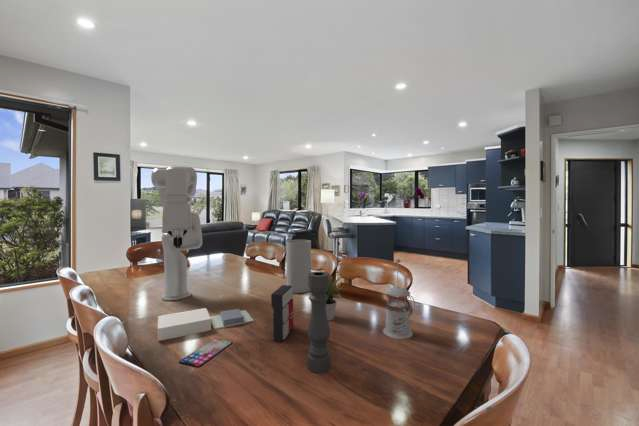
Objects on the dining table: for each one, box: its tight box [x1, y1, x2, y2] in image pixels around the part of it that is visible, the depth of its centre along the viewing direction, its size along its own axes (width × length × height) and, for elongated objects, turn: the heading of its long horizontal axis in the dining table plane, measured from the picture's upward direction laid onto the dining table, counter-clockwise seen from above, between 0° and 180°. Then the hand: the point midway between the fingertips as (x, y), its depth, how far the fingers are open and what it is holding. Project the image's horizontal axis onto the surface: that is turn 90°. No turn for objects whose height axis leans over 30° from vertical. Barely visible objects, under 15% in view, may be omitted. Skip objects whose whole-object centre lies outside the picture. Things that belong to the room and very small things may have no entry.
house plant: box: [326, 275, 347, 321], centre depth 109 cm, size 14×14×16 cm
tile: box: [219, 308, 243, 326], centre depth 107 cm, size 9×7×2 cm
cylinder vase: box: [285, 239, 312, 294], centre depth 144 cm, size 12×12×25 cm
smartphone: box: [178, 338, 233, 369], centre depth 84 cm, size 8×1×15 cm
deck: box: [157, 307, 212, 342], centre depth 100 cm, size 12×16×4 cm
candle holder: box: [306, 271, 332, 375], centre depth 75 cm, size 6×6×25 cm
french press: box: [382, 258, 416, 340], centre depth 96 cm, size 10×12×25 cm
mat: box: [209, 309, 255, 330], centre depth 108 cm, size 12×14×1 cm
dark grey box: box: [270, 284, 294, 342], centre depth 95 cm, size 11×4×15 cm, turn 168°
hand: (177, 247), depth 110 cm, fingers closed
